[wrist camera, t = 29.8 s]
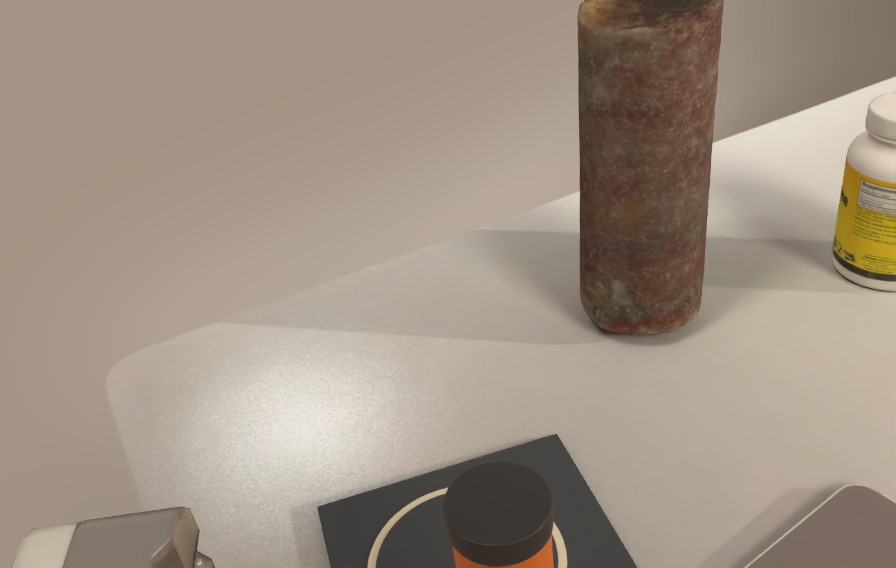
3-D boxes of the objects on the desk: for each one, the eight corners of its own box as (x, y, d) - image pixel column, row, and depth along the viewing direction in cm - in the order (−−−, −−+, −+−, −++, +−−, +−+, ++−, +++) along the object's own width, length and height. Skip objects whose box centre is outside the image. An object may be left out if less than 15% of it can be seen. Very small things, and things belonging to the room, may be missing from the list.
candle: (718, 344, 51) (745, 3, 39) (594, 360, 51) (587, 24, 40) (680, 274, 57) (695, -37, 46) (571, 288, 57) (559, -19, 46)
